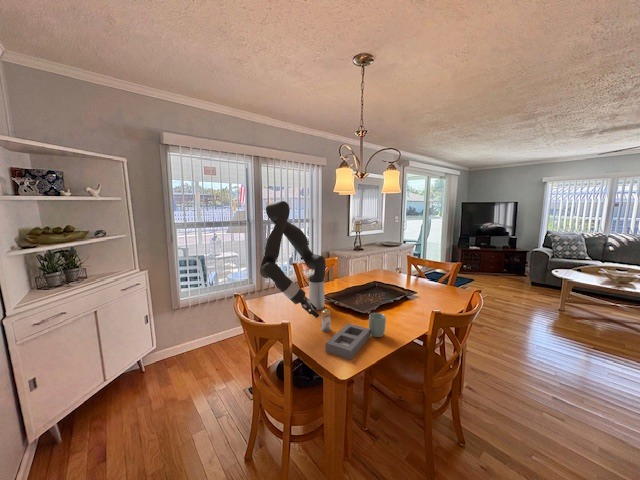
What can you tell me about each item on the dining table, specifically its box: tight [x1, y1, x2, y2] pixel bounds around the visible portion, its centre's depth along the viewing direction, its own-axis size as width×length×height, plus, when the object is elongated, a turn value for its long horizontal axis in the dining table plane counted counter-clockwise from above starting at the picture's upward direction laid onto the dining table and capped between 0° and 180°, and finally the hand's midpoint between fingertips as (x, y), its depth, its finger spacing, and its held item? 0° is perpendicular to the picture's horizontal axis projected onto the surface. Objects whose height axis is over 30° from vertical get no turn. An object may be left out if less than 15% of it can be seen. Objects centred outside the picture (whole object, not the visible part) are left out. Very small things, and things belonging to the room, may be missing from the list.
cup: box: [368, 312, 387, 338], centre depth 125 cm, size 8×8×10 cm
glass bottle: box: [321, 308, 331, 333], centre depth 131 cm, size 4×4×11 cm
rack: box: [325, 323, 371, 361], centre depth 118 cm, size 12×22×4 cm, turn 148°
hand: (316, 313), depth 130 cm, fingers open, 8 cm apart
